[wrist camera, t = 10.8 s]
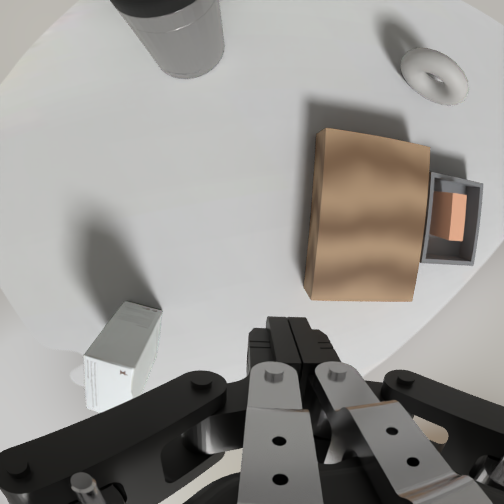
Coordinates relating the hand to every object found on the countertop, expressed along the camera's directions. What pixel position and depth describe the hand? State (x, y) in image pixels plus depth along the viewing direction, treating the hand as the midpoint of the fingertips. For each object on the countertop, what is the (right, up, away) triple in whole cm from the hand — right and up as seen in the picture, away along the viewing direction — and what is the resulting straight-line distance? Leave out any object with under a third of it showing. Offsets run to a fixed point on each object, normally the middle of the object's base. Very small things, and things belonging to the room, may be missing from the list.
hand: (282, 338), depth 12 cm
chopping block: (+13, +8, +28) cm, 32 cm away
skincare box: (-17, -8, +31) cm, 36 cm away
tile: (+24, +8, +25) cm, 35 cm away
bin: (+26, +8, +29) cm, 40 cm away
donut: (+22, +27, +25) cm, 43 cm away
